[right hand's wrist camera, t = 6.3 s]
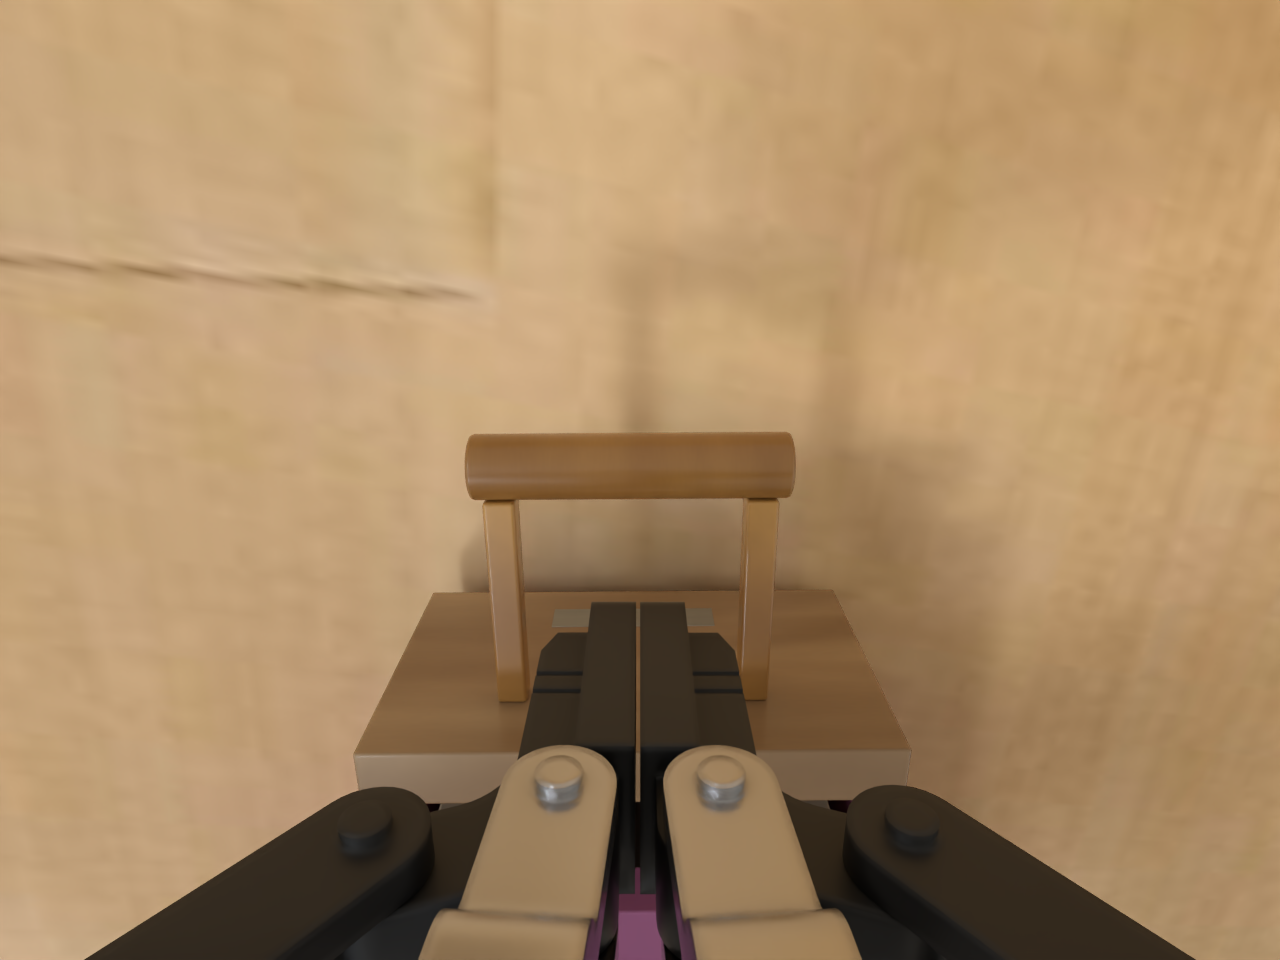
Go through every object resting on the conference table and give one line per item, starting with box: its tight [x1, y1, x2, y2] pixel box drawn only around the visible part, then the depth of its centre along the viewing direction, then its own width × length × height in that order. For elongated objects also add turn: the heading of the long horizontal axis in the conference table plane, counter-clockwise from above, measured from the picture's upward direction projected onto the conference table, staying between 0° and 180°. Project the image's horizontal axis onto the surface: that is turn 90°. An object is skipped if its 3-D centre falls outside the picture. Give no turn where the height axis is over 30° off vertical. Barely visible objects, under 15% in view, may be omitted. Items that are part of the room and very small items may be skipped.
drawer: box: [353, 432, 911, 867], centre depth 20 cm, size 25×10×6 cm, turn 0°
